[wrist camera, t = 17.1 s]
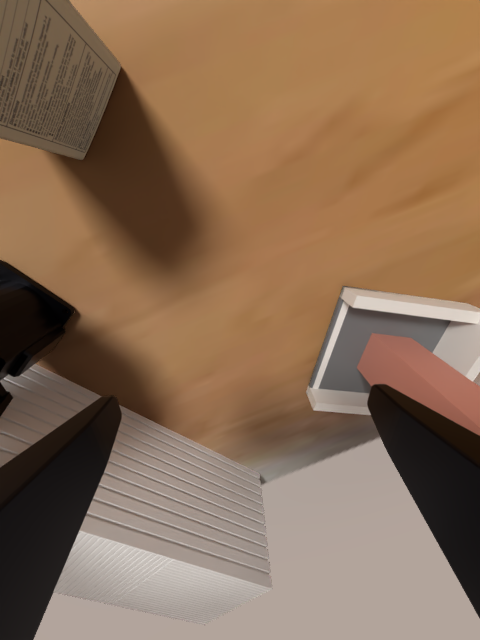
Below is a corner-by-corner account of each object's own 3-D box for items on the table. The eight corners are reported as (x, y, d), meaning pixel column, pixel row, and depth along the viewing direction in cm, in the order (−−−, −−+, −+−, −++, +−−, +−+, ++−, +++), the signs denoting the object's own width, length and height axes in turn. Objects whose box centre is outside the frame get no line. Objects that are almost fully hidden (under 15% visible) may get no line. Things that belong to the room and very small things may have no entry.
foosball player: (356, 367, 24) (505, 555, 11) (371, 333, 22) (569, 506, 9) (393, 371, 24) (579, 557, 11) (411, 337, 22) (653, 511, 10)
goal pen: (306, 392, 25) (318, 422, 22) (342, 285, 20) (367, 302, 17) (408, 401, 26) (436, 432, 23) (467, 303, 21) (515, 322, 18)
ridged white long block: (-30, 412, 25) (-194, 540, 15) (1, 344, 22) (-181, 453, 12) (211, 508, 35) (204, 625, 25) (259, 471, 31) (272, 589, 22)
